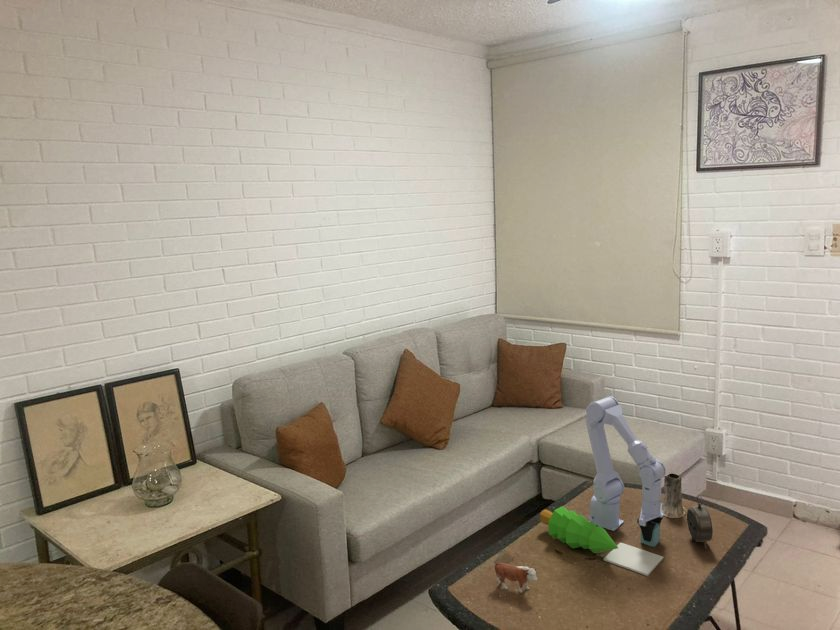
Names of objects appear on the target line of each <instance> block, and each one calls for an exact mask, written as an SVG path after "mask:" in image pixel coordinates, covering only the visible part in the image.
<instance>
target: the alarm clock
mask: <svg viewBox="0 0 840 630" xmlns="http://www.w3.org/2000/svg"><path fill="white" fill-rule="evenodd" d="M696 498H697V499H696V501H697V505H693V506H690V507H688V509H687V510H686V511H687V515H686V522H687V529H688V531H689V533H690V537H691V539H690V540H689V542H692V541H693V540H694V541H695V542H697V543H700V542H703V546H704V549H705V550H708V546H707V542H710V541H711V540H712V538H713V533H714V532H713V530H714V529H713V524H712V518H711V514H710V513H709V511H708V509H707V508H706V506H704V505H703V498H702V496H701V495H700V494H698V495H697V497H696ZM699 498H700V501H701V502H699Z"/></svg>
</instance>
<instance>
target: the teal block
mask: <svg viewBox="0 0 840 630" xmlns="http://www.w3.org/2000/svg"><path fill="white" fill-rule="evenodd" d="M652 523H655V522H652ZM655 524H656V525H655V527H654V529H653V533H652V539H651V541H650V542H648V541H645V540H644V539H643V535H642V531H641V530H640V543H641V544H643V543H644V545H647V546H650V547H652V546H653V548H655V547H656V546H657V545H658V544H659V543H660V542H661V541H660V539H661V523H660V524H658V523H655Z"/></svg>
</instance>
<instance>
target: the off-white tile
mask: <svg viewBox="0 0 840 630" xmlns="http://www.w3.org/2000/svg"><path fill="white" fill-rule="evenodd" d="M616 545H617V547H618V548H617V549H612V550H610V552H608V553H607V554H606V556H605V557H603V561H605V562H607V563H610V564H613V565H616V566H618V567H621V568H624V569H627V570H630V571H632V572H635V573H639V574H640V575H643V576H646V577H649V575H650V574H651V573H652V571H654V569H655V568H656V567H657V566H659V564H660V563H661V561H662V560H663V559H664V556H663V555H662V556H661V555H660V554H656V553H653V552H650V551H647V550H645V549H641V548H640V547H639V548H638V547H635V546H633V545H630V544H626V543H624V542H619V543H618V544H616Z"/></svg>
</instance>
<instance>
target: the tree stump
mask: <svg viewBox="0 0 840 630" xmlns="http://www.w3.org/2000/svg"><path fill="white" fill-rule="evenodd" d="M663 481H664V483H663V486H664V487H663V488H664V498H663V501H662V503H663V509H662V510H661V513H664V517H666V518H669V519H681V517H683V516H684V515H683V514H685V512H687V511H688V510H687V508H686V507H685V506H683V492H682V476H681V475H678V474H676V473H669V474H667V475H664V480H663ZM683 518H684V517H683Z"/></svg>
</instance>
